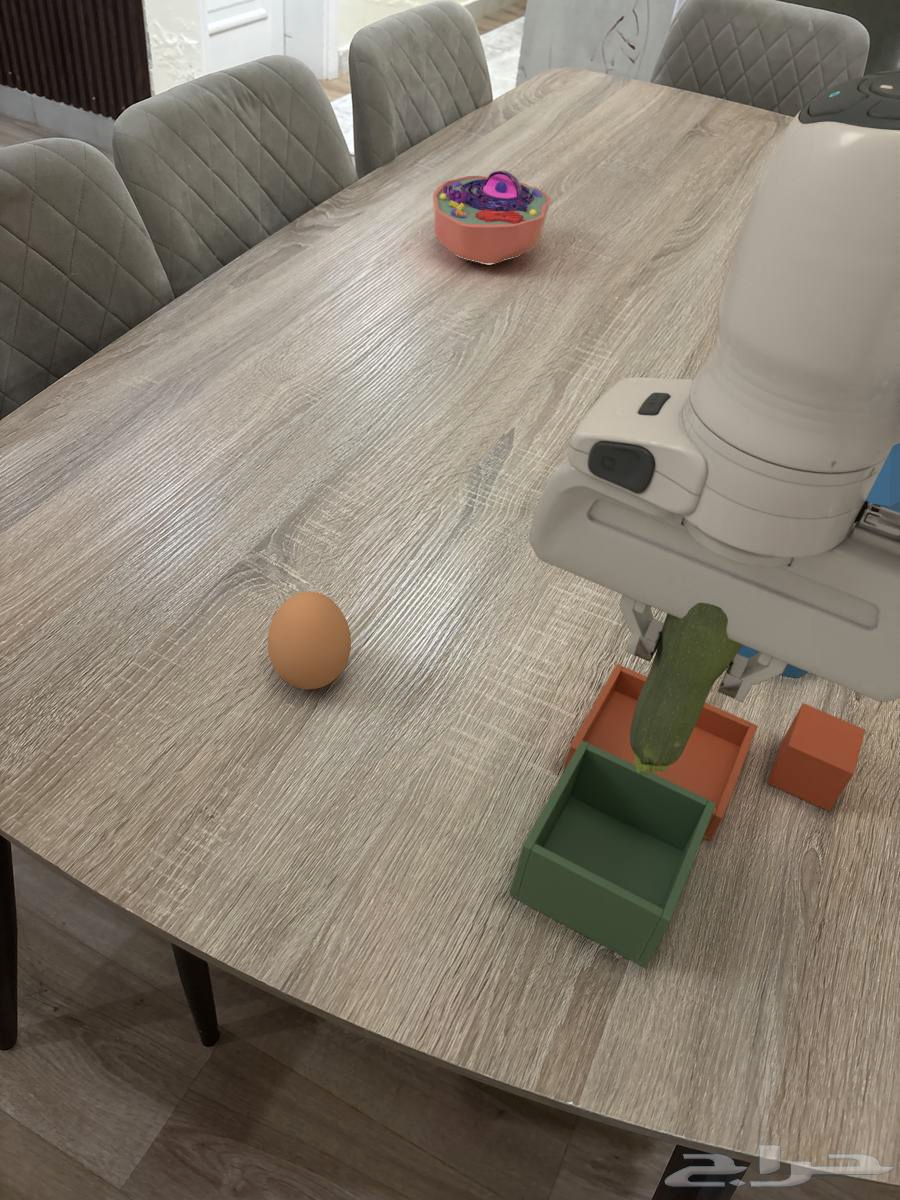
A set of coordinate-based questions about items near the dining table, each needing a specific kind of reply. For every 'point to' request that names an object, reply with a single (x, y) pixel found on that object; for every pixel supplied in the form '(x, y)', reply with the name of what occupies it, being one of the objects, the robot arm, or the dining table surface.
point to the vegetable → (679, 685)
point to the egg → (309, 640)
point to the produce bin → (612, 852)
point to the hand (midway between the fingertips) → (686, 669)
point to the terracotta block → (817, 757)
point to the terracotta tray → (705, 757)
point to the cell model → (489, 216)
